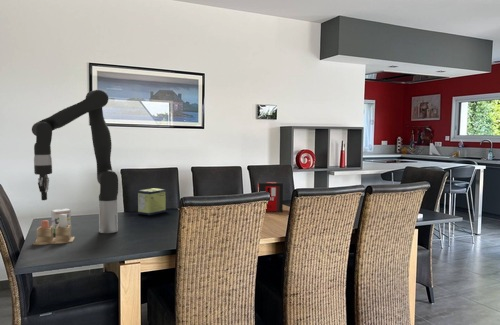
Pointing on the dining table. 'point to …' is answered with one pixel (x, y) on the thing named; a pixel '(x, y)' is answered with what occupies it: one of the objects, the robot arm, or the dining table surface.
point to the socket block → (61, 235)
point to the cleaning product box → (273, 195)
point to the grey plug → (63, 220)
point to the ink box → (56, 217)
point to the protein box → (151, 201)
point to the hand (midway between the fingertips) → (44, 200)
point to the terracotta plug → (45, 224)
